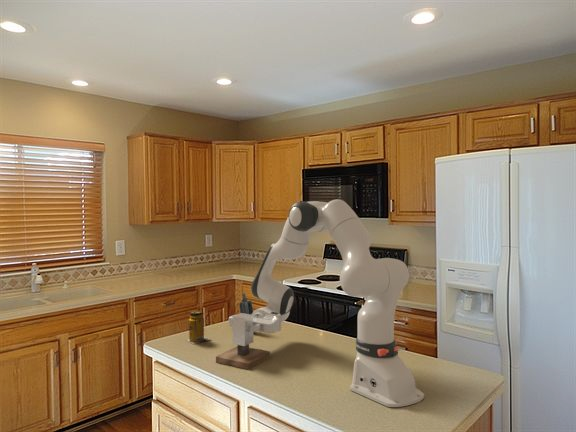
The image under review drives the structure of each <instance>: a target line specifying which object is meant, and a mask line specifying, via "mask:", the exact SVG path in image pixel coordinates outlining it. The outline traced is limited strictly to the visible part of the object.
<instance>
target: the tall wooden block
mask: <svg viewBox="0 0 576 432" xmlns="http://www.w3.org/2000/svg"><path fill="white" fill-rule="evenodd" d="M234 315H235V316H233V315H232V316H233V328H232V344H233V345H236V346H237V345H241V346H246V345H248V344H249V345H250V344H252V343H254V331H253V332H248V327H249V326H253V315H251V314H244V313H241V312H239V313H238V314H234Z"/></svg>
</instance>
